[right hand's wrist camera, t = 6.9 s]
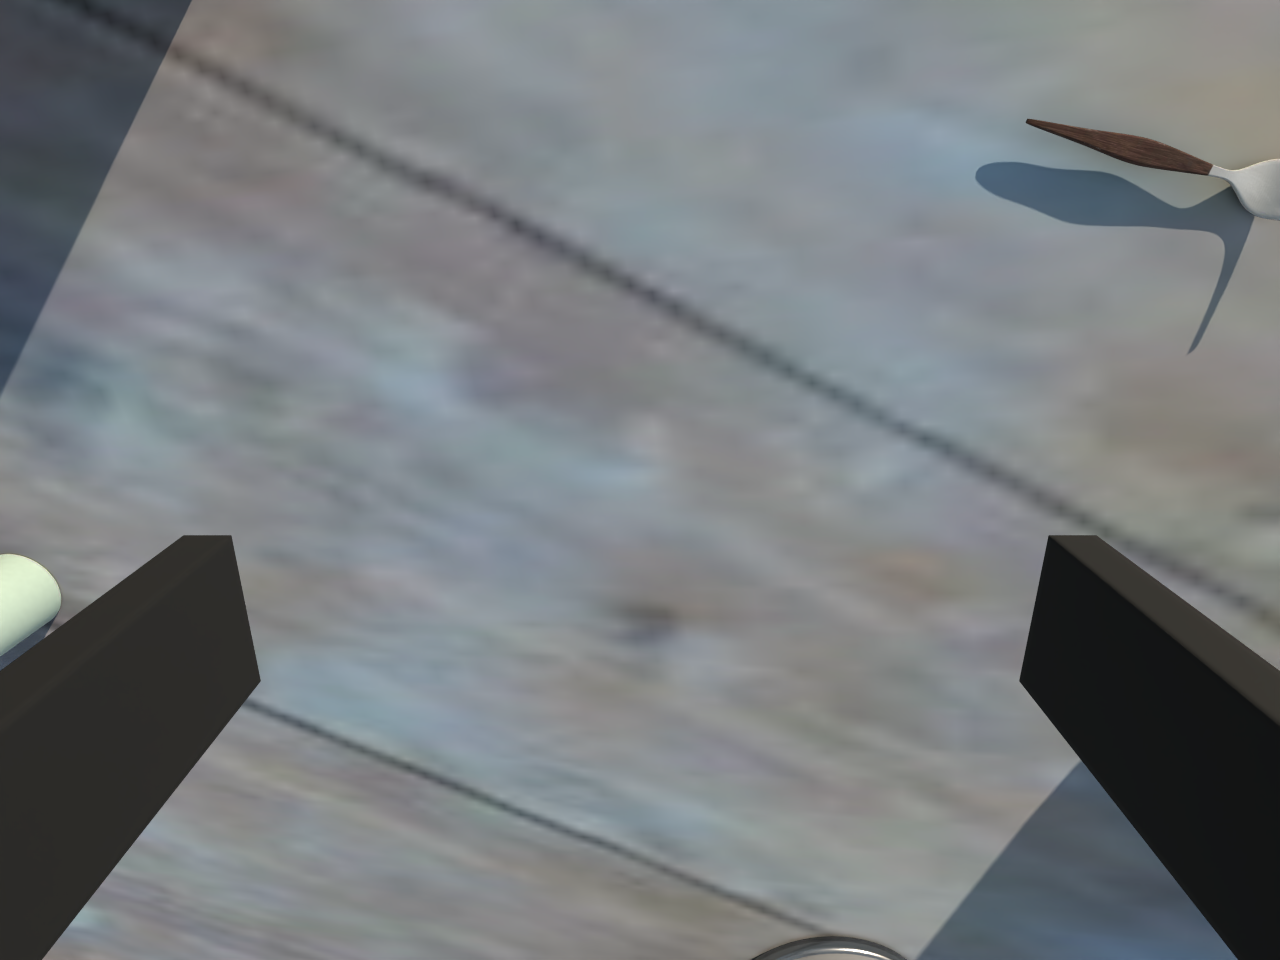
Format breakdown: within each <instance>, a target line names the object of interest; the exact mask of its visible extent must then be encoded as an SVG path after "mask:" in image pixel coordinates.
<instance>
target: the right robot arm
mask: <svg viewBox="0 0 1280 960" xmlns="http://www.w3.org/2000/svg"><path fill="white" fill-rule="evenodd" d="M260 681H261V680H260V675H259V670H258V665H257V660H256V655H255V651H254V646H253V641H252V636H251V631H250V626H249V621H248V616H247V611H246V606H245V601H244V596H243V591H242V586H241V581H240V576H239V571H238V566H237V561H236V556H235V551H234V546H233V541H232V536H231V535H184V536H182V537H181V538H180V539H178V540H177V541H175V542H174V543H173V544H171V545H170V546H169V547H167V548H166V549H165V550H163V551H162V552H161V553H159V554H158V555H157V556H155V557H154V558H152V559H151V560H150V561H148V562H147V563H146V564H144V565H143V566H142V567H140V568H139V569H138V570H136V571H135V572H134V573H132V574H131V575H129V576H128V577H127V578H125V579H124V580H123V581H121V582H120V583H119V584H117V585H116V586H115V587H113V588H112V589H111V590H109V591H108V592H106V593H105V594H104V595H102V596H101V597H100V598H98V599H97V600H96V601H94V602H93V603H92V604H90V605H89V606H88V607H86V608H85V609H83V610H82V611H81V612H79V613H78V614H77V615H75V616H74V617H73V618H71V619H70V620H69V621H67V622H66V623H65V624H63V625H62V626H60V627H59V628H58V629H56V630H55V631H54V632H52V633H51V634H50V635H48V636H47V637H46V638H44V639H43V640H42V641H40V642H39V643H37V644H36V645H35V646H33V647H32V648H31V649H29V650H28V651H27V652H25V653H24V654H23V655H21V656H20V657H19V658H17V659H16V660H15V661H13V662H12V663H10V664H9V665H8V666H6V667H5V668H4V669H2V670H1V671H0V960H42V959H43V958H44V956H45V955H46V954H47V952H48V951H49V950H50V949H51V947H52V946H53V945H54V944H55V942H56V941H57V940H58V938H59V937H60V936H61V935H62V933H63V932H64V931H65V930H66V928H67V927H68V926H69V924H70V923H71V922H72V921H73V919H74V918H75V917H76V916H77V914H78V913H79V912H80V910H81V909H82V908H83V907H84V905H85V904H86V903H87V902H88V900H89V899H90V898H91V896H92V895H93V894H94V893H95V891H96V890H97V889H98V888H99V886H100V885H101V884H102V882H103V881H104V880H105V879H106V877H107V876H108V875H109V874H110V872H111V871H112V870H113V868H114V867H115V866H116V865H117V863H118V862H119V861H120V860H121V858H122V857H123V856H124V854H125V853H126V852H127V851H128V849H129V848H130V847H131V846H132V844H133V843H134V842H135V840H136V839H137V838H138V837H139V835H140V834H141V833H142V832H143V830H144V829H145V828H146V826H147V825H148V824H149V823H150V821H151V820H152V819H153V817H154V816H155V815H156V814H157V812H158V811H159V810H160V809H161V807H162V806H163V805H164V803H165V802H166V801H167V800H168V798H169V797H170V796H171V795H172V793H173V792H174V791H175V789H176V788H177V787H178V786H179V784H180V783H181V782H182V781H183V779H184V778H185V777H186V775H187V774H188V773H189V772H190V770H191V769H192V768H193V767H194V765H195V764H196V763H197V761H198V760H199V759H200V758H201V756H202V755H203V754H204V753H205V751H206V750H207V749H208V747H209V746H210V745H211V744H212V742H213V741H214V740H215V739H216V737H217V736H218V735H219V733H220V732H221V731H222V730H223V728H224V727H225V726H226V725H227V723H228V722H229V721H230V719H231V718H232V717H233V716H234V714H235V713H236V712H237V711H238V709H239V708H240V707H241V705H242V704H243V703H244V702H245V700H246V699H247V698H248V697H249V695H250V694H251V693H252V691H253V690H254V689H255V688H256V686H257V685H258V684H259V683H260ZM1019 681H1020V683H1021V684H1022V685H1023V686H1024V688H1025V689H1026V690H1027V691H1028V693H1029V694H1030V695H1031V697H1032V698H1033V699H1034V700H1035V702H1036V703H1037V704H1038V705H1039V707H1040V708H1041V709H1042V711H1043V712H1044V713H1045V714H1046V716H1047V717H1048V718H1049V719H1050V721H1051V722H1052V723H1053V725H1054V726H1055V727H1056V728H1057V730H1058V731H1059V732H1060V733H1061V735H1062V736H1063V737H1064V739H1065V740H1066V741H1067V742H1068V744H1069V745H1070V746H1071V747H1072V749H1073V750H1074V751H1075V753H1076V754H1077V755H1078V756H1079V758H1080V759H1081V760H1082V761H1083V763H1084V764H1085V765H1086V767H1087V768H1088V769H1089V770H1090V772H1091V773H1092V774H1093V775H1094V777H1095V778H1096V779H1097V781H1098V782H1099V783H1100V784H1101V786H1102V787H1103V788H1104V789H1105V791H1106V792H1107V793H1108V795H1109V796H1110V797H1111V798H1112V800H1113V801H1114V802H1115V803H1116V805H1117V806H1118V807H1119V809H1120V810H1121V811H1122V812H1123V814H1124V815H1125V816H1126V817H1127V819H1128V820H1129V821H1130V823H1131V824H1132V825H1133V826H1134V828H1135V829H1136V830H1137V832H1138V833H1139V834H1140V835H1141V837H1142V838H1143V839H1144V840H1145V842H1146V843H1147V844H1148V846H1149V847H1150V848H1151V849H1152V851H1153V852H1154V853H1155V854H1156V856H1157V857H1158V858H1159V860H1160V861H1161V862H1162V863H1163V865H1164V866H1165V867H1166V868H1167V870H1168V871H1169V872H1170V874H1171V875H1172V876H1173V877H1174V879H1175V880H1176V881H1177V882H1178V884H1179V885H1180V886H1181V888H1182V889H1183V890H1184V891H1185V893H1186V894H1187V895H1188V896H1189V898H1190V899H1191V900H1192V902H1193V903H1194V904H1195V905H1196V907H1197V908H1198V909H1199V910H1200V912H1201V913H1202V914H1203V916H1204V917H1205V918H1206V919H1207V921H1208V922H1209V923H1210V924H1211V926H1212V927H1213V928H1214V930H1215V931H1216V932H1217V933H1218V935H1219V936H1220V937H1221V938H1222V940H1223V941H1224V942H1225V944H1226V945H1227V946H1228V947H1229V949H1230V950H1231V951H1232V952H1233V954H1234V955H1235V956H1236V958H1237V959H1238V960H1280V671H1279V670H1278V669H1276V668H1275V667H1274V666H1272V665H1271V664H1270V663H1268V662H1267V661H1265V660H1264V659H1263V658H1261V657H1260V656H1259V655H1257V654H1256V653H1255V652H1253V651H1252V650H1251V649H1249V648H1248V647H1247V646H1245V645H1244V644H1243V643H1241V642H1240V641H1238V640H1237V639H1236V638H1234V637H1233V636H1232V635H1230V634H1229V633H1228V632H1226V631H1225V630H1224V629H1222V628H1221V627H1220V626H1218V625H1217V624H1215V623H1214V622H1213V621H1211V620H1210V619H1209V618H1207V617H1206V616H1205V615H1203V614H1202V613H1201V612H1199V611H1198V610H1197V609H1195V608H1194V607H1192V606H1191V605H1190V604H1188V603H1187V602H1186V601H1184V600H1183V599H1182V598H1180V597H1179V596H1178V595H1176V594H1175V593H1174V592H1172V591H1171V590H1169V589H1168V588H1167V587H1165V586H1164V585H1163V584H1161V583H1160V582H1159V581H1157V580H1156V579H1155V578H1153V577H1152V576H1151V575H1149V574H1148V573H1146V572H1145V571H1144V570H1142V569H1141V568H1140V567H1138V566H1137V565H1136V564H1134V563H1133V562H1132V561H1130V560H1129V559H1128V558H1126V557H1125V556H1123V555H1122V554H1121V553H1119V552H1118V551H1117V550H1115V549H1114V548H1113V547H1111V546H1110V545H1109V544H1107V543H1106V542H1105V541H1103V540H1102V539H1100V538H1099V537H1098V536H1096V535H1049V536H1048V541H1047V546H1046V551H1045V556H1044V561H1043V566H1042V571H1041V576H1040V581H1039V586H1038V591H1037V596H1036V601H1035V606H1034V611H1033V616H1032V621H1031V626H1030V631H1029V636H1028V641H1027V646H1026V651H1025V655H1024V660H1023V665H1022V670H1021V675H1020V680H1019ZM754 960H906V959H905V958H904V957H902V956H901V955H900V954H898V953H896V952H895V951H893V950H891V949H889V948H887V947H884V946H882V945H879V944H877V943H874V942H870V941H866V940H862V939H856V938H849V937H817V938H809V939H803V940H799V941H795V942H791V943H788V944H785V945H782V946H779V947H777V948H774V949H772V950H770V951H768V952H766V953H764V954H762V955H760V956H759V957H757V958H755V959H754Z"/></svg>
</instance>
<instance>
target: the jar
mask: <svg viewBox="0 0 1280 960" xmlns="http://www.w3.org/2000/svg"><path fill="white" fill-rule="evenodd" d="M60 606H61V593H60V590H59V587H58V585H57V583H56V581H55V579H54V578H53V577H52V575H51V574H50V573H49V572H48V571H47V570H46V569H45V568H44V567H42V566H41V565H40V564H38V563H37V562H35V561H33V560H31V559H29V558H26V557H23V556H20V555H14V554H2V555H0V656H2V655H3V654H5V653H6V652H7V651H9V650H10V649H11V648H13V647H14V646H16V645H17V644H18V643H20V642H21V641H23V640H24V639H25V638H27V637H28V636H30V635H31V634H32V633H34V632H35V631H37V630H38V629H39V628H41V627H42V626H44V625H45V624H46V623H48V622H49V621H51V620H52V619H53V618H54V617H55V616H56V614H57V613H58V611H59V609H60Z"/></svg>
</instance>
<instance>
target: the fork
mask: <svg viewBox="0 0 1280 960" xmlns="http://www.w3.org/2000/svg"><path fill="white" fill-rule="evenodd" d="M1026 123H1027V124H1029V125H1031V126H1034V127H1037V128H1039V129H1042V130H1044V131H1047V132H1050V133H1053V134H1055V135H1058V136H1061V137H1063V138H1066V139H1069V140H1071V141H1074V142H1077V143H1079V144H1082V145H1084V146H1087V147H1089V148H1092V149H1094V150H1097V151H1099V152H1101V153H1104V154H1106V155H1109V156H1111V157H1114V158H1116V159H1119V160H1122V161H1124V162H1127V163H1131V164H1135V165H1139V166H1144V167H1149V168H1156V169H1163V170H1170V171H1177V172H1184V173H1192V174H1199V175H1206V176H1212V177H1218V178H1221V179H1224V180H1226V181H1227V182H1228V183H1229V184H1230V185H1231V186H1232V188H1233V189H1234V191H1235V193H1236V195H1237V197H1238V199H1239V201H1240V202H1241V204H1242V205H1243V207H1244V208H1245V209H1246V210H1247V211H1248V212H1250V213H1251V214H1253V215H1255V216H1257V217H1261V218H1265V219H1271V220H1279V221H1280V159H1273V160H1267V161H1263V162H1260V163H1257V164H1254V165H1251V166H1249V167H1246V168H1243V169H1239V170H1226V169H1223V168H1220V167H1217V166H1215V165H1212V164H1210V163H1208V162H1205V161H1203V160H1201V159H1198V158H1196V157H1194V156H1192V155H1189V154H1187V153H1185V152H1182V151H1180V150H1178V149H1175V148H1173V147H1171V146H1168V145H1166V144H1163V143H1160V142H1157V141H1154V140H1151V139H1148V138H1143V137H1139V136H1133V135H1127V134H1120V133H1113V132H1106V131H1099V130H1092V129H1086V128H1080V127H1074V126H1068V125H1062V124H1057V123H1051V122H1045V121H1039V120H1033V119H1027V121H1026Z"/></svg>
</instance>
